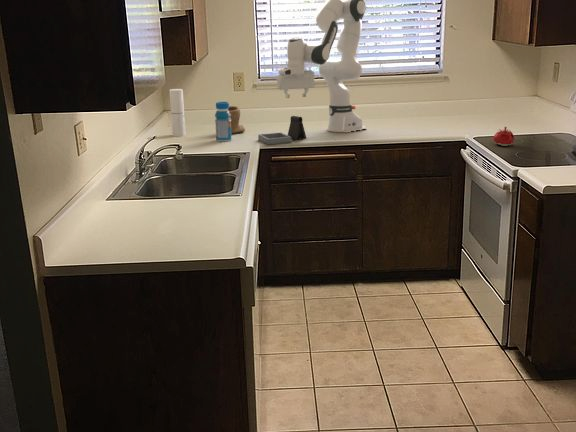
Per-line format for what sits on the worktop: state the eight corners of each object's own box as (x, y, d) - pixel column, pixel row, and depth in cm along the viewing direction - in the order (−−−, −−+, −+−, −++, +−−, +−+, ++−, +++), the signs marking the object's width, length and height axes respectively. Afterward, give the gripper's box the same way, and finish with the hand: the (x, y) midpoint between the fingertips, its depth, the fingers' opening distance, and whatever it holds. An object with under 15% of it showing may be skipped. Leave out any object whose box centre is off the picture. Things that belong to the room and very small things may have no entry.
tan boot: (226, 136, 350) (224, 108, 345) (216, 133, 359) (215, 106, 355) (250, 133, 357) (249, 106, 353) (240, 130, 367) (239, 103, 362)
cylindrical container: (170, 135, 354) (166, 89, 346) (180, 133, 359) (177, 88, 351) (178, 137, 350) (174, 90, 342) (188, 135, 355) (185, 89, 347)
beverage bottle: (220, 142, 334) (218, 104, 328) (213, 139, 341) (211, 102, 334) (234, 140, 338) (233, 102, 332) (227, 138, 345) (225, 100, 339)
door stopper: (294, 140, 335) (294, 118, 332) (286, 139, 340) (286, 116, 336) (306, 138, 341) (306, 116, 338) (298, 136, 345) (298, 114, 342)
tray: (281, 137, 343) (280, 132, 342) (291, 142, 331) (291, 136, 330) (258, 140, 338) (258, 134, 338) (268, 145, 326) (267, 139, 325)
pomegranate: (488, 145, 320) (489, 126, 318) (504, 142, 324) (506, 124, 321) (502, 148, 312) (503, 129, 309) (518, 146, 315) (519, 127, 312)
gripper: (311, 69, 336) (311, 95, 340) (275, 70, 328) (275, 97, 332) (316, 70, 330) (316, 97, 335) (280, 71, 323) (280, 99, 327)
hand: (296, 97), depth 333 cm, fingers open, 8 cm apart
